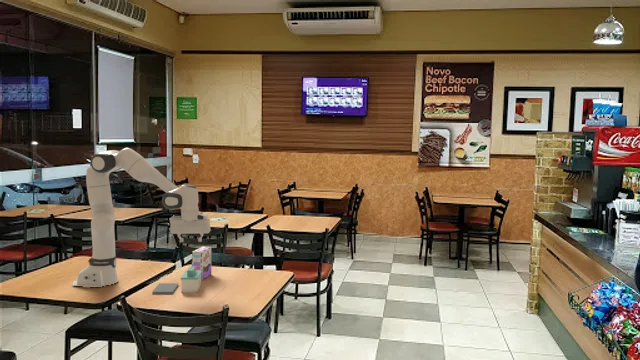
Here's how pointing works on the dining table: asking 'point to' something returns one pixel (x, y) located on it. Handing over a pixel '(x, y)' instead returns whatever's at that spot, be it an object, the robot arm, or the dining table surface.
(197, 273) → the lid
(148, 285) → the dining table surface
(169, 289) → the mat
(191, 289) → the tub
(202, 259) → the candy box
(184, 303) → the dining table surface
